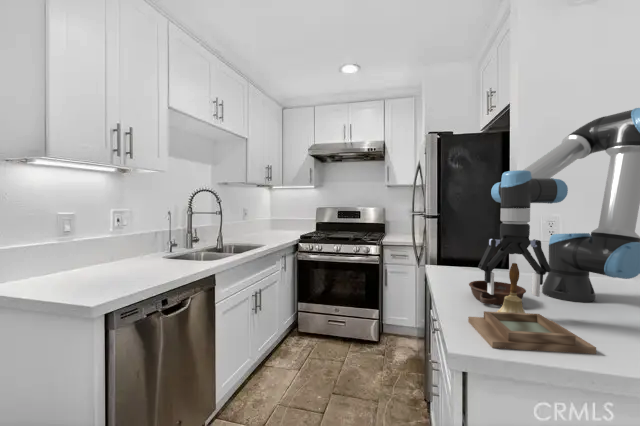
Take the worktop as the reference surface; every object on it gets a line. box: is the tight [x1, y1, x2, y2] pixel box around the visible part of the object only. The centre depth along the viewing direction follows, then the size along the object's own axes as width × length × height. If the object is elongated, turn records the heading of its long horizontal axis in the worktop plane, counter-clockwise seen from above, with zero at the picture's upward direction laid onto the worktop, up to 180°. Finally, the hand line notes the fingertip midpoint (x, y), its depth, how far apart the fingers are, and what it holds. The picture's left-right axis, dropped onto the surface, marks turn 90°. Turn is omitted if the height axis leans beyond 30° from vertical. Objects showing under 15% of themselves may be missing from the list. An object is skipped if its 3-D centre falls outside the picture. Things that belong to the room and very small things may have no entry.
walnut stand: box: [467, 310, 597, 355], centre depth 79 cm, size 22×16×4 cm
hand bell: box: [496, 262, 526, 313], centre depth 93 cm, size 8×8×16 cm
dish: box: [468, 280, 527, 306], centre depth 109 cm, size 18×22×5 cm
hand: (512, 294), depth 93 cm, fingers open, 12 cm apart
